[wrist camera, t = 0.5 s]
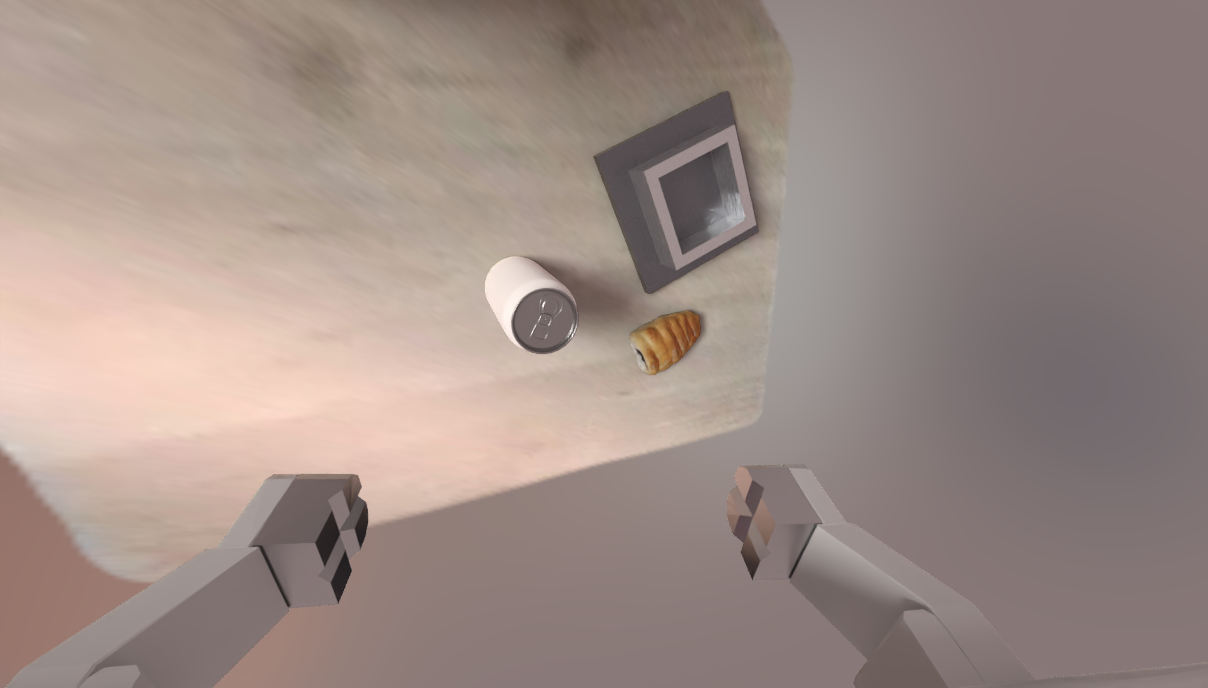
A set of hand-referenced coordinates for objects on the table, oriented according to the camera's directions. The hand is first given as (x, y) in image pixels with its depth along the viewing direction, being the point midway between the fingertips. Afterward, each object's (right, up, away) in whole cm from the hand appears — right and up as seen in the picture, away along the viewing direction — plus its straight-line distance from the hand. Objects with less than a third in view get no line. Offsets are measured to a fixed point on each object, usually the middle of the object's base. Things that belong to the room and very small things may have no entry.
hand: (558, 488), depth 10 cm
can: (-8, +9, +36) cm, 39 cm away
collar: (+10, +20, +40) cm, 45 cm away
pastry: (+8, +4, +46) cm, 47 cm away
